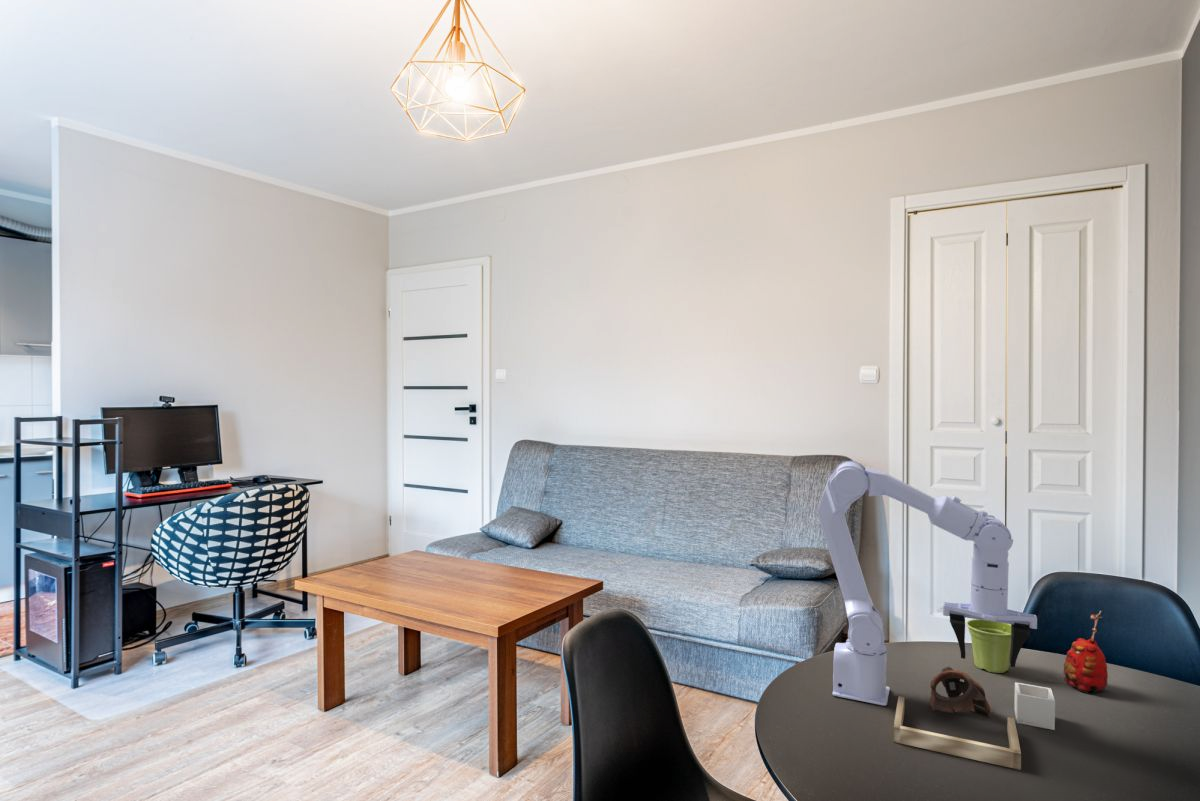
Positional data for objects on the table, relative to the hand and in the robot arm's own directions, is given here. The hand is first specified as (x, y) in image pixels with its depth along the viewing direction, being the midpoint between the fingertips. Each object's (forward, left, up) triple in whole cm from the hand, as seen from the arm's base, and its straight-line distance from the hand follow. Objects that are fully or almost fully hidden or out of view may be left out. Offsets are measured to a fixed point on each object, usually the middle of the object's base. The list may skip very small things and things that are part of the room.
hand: (987, 660), depth 123 cm
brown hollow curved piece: (-4, -1, -10) cm, 11 cm away
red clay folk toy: (+18, +21, -10) cm, 29 cm away
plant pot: (+2, +23, -10) cm, 25 cm away
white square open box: (+7, +1, -10) cm, 12 cm away
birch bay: (-5, -12, -10) cm, 16 cm away
